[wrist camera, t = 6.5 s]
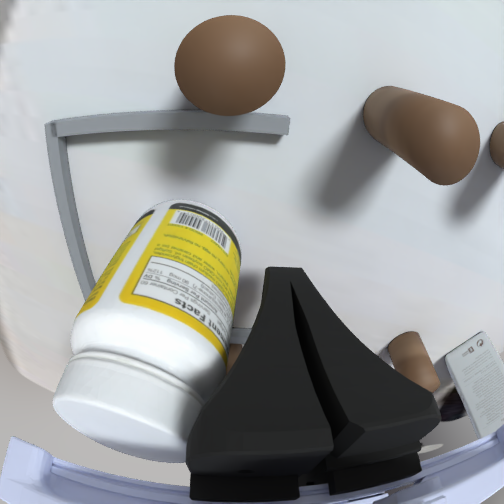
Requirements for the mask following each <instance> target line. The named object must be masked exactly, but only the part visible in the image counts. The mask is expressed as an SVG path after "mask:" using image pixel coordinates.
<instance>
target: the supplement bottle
mask: <svg viewBox="0 0 504 504" xmlns="http://www.w3.org/2000/svg"><path fill="white" fill-rule="evenodd" d="M240 266H241V246H240V242H239V238H238V236H237V234H236V232H235V230H234V229H233V227H232V226H231V224H230V223H229V222H228V221H227V220H226V218H224V217H223V216H222V215H221V214H220V213H219V212H217V211H216V210H214V209H212V208H211V207H209V206H207V205H204V204H202V203H199V202H195V201H190V200H170V201H166V202H162V203H160V204H157V205H155V206H153V207H152V208H150V209H148V210H147V211H146V212H145V213H144V214H143V215H142V216H141V217H140V218H139V220H138V221H137V222H136V223H135V225H134V226H133V228H132V229H131V231H130V232H129V234H128V235H127V237H126V238H125V240H124V241H123V243H122V244H121V246H120V247H119V249H118V250H117V252H116V253H115V255H114V256H113V258H112V259H111V261H110V263H109V264H108V266H107V267H106V269H105V271H104V272H103V274H102V275H101V277H100V279H99V280H98V282H97V283H96V285H95V287H94V288H93V290H92V291H91V293H90V295H89V296H88V298H87V300H86V302H85V303H84V305H83V307H82V308H81V310H80V311H79V313H78V315H77V316H76V318H75V320H74V323H73V327H72V330H71V338H70V339H71V348H72V352H73V354H74V356H73V357H72V358H71V359H70V361H69V363H68V365H67V366H66V368H65V370H64V373H63V375H62V378H61V380H60V382H59V384H58V387H57V389H56V392H55V394H54V397H53V407H54V409H55V411H56V412H57V413H58V415H59V416H60V417H61V418H62V419H63V420H64V421H65V422H67V423H68V424H69V425H70V426H72V427H73V428H74V429H76V430H77V431H79V432H80V433H82V434H84V435H85V436H87V437H89V438H90V439H92V440H94V441H96V442H98V443H100V444H102V445H104V446H106V447H109V448H111V449H114V450H116V451H119V452H122V453H125V454H128V455H131V456H135V457H139V458H143V459H147V460H152V461H158V462H168V463H184V462H186V445H187V441H188V437H189V434H190V432H191V430H192V427H193V425H194V423H195V421H196V419H197V417H198V415H199V413H200V410H201V408H202V407H203V406H204V405H205V403H206V402H207V401H208V400H209V398H210V397H211V396H212V395H213V393H214V392H215V391H216V390H217V388H218V387H219V385H220V384H221V383H222V381H223V380H224V378H225V377H226V371H227V364H228V356H229V348H230V340H231V333H232V326H233V318H234V311H235V303H236V295H237V288H238V281H239V273H240Z"/></svg>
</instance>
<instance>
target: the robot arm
mask: <svg viewBox="0 0 504 504" xmlns="http://www.w3.org/2000/svg"><path fill="white" fill-rule="evenodd" d="M440 420H441V414H440V411H439V409H438V406H437V403H436V400H435V398H434V396H433V394H432V392H430V391H428V390H427V389H425V388H423V387H422V386H420V385H418V384H416V383H415V382H413V381H411V380H410V379H408V378H406V377H405V376H404V375H402V374H401V373H399V372H398V371H396V370H395V369H393V368H392V367H391V366H389V365H388V364H387V363H385V362H384V361H383V360H382V359H380V358H379V357H378V356H377V355H376V354H374V353H373V352H372V351H371V350H370V349H369V348H367V347H366V346H365V345H364V344H363V343H362V342H361V341H360V340H359V339H358V338H357V337H356V336H355V335H354V334H353V333H352V332H351V331H350V330H349V329H348V328H347V327H346V326H345V325H344V323H343V322H342V321H341V320H340V319H339V318H338V316H337V315H336V314H335V313H334V312H333V310H332V309H331V308H330V307H329V305H328V304H327V303H326V301H325V300H324V299H323V297H322V296H321V295H320V293H319V292H318V291H317V289H316V288H315V286H314V285H313V283H312V282H311V281H310V279H309V278H308V276H307V275H306V273H305V272H304V270H303V269H302V268H292V267H268V268H266V269H265V276H264V284H263V292H262V300H261V306H260V309H259V312H258V314H257V317H256V320H255V322H254V325H253V327H252V330H251V332H250V334H249V336H248V338H247V340H246V343H245V345H244V346H243V348H242V350H241V352H240V354H239V356H238V357H237V359H236V361H235V363H234V364H233V366H232V368H231V369H230V371H229V372H228V374H227V375H226V377H225V378H224V380H223V381H222V383H221V384H220V385H219V387H218V388H217V390H216V391H215V392H214V393H213V395H212V396H211V397H210V398H209V400H208V401H207V402H206V403H205V405H204V406H203V407H202V408H201V410H200V413H199V415H198V417H197V419H196V421H195V423H194V425H193V427H192V430H191V432H190V434H189V437H188V441H187V445H186V465H187V467H188V468H189V471H190V472H191V478H190V487H187V486H177V485H169V484H162V483H155V482H149V481H143V480H138V479H132V478H127V477H123V476H118V475H114V474H109V473H105V472H101V471H98V470H94V469H90V468H87V467H83V466H80V465H77V464H73V463H70V462H67V461H64V460H61V459H58V458H55V457H53V456H52V455H51V454H50V453H49V452H47V451H45V450H44V449H42V448H40V447H38V446H35V445H34V444H31V443H29V442H26V441H24V440H21V439H19V438H17V437H14V436H12V437H11V439H10V442H9V446H8V449H7V453H6V457H5V460H4V464H3V468H2V473H1V477H0V499H2V500H3V501H5V502H7V503H8V504H479V503H481V502H483V501H484V500H486V499H487V498H488V497H490V496H491V495H493V494H494V493H495V492H497V491H498V490H499V489H501V488H502V487H503V486H504V424H503V425H502V426H501V427H499V428H498V429H497V430H496V431H495V432H493V433H491V434H489V435H487V436H485V437H483V438H481V439H478V440H476V441H475V442H472V443H469V444H467V445H465V446H462V447H460V448H458V449H455V450H453V451H450V452H447V453H445V454H442V455H440V456H437V457H434V458H431V459H428V460H425V461H422V462H420V460H419V456H418V453H417V452H419V451H420V450H421V445H420V442H419V440H420V439H422V438H423V437H424V436H426V435H427V434H428V433H429V432H431V431H432V430H433V429H434V428H435V427H436V426H437V425H438V424H439V422H440ZM414 482H415V483H414ZM411 483H414V485H413V486H411V487H408V488H405V489H402V490H400V491H397V492H395V493H394V494H392V495H389V496H388V493H387V494H385V493H384V491H388V490H391V489H395V488H398V487H401V486H405V485H408V484H411Z"/></svg>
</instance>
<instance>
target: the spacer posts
mask: <svg viewBox="0 0 504 504" xmlns="http://www.w3.org/2000/svg"><path fill="white" fill-rule="evenodd" d="M174 66H175V77H176V80H177V83H178V86H179V88H180V90H181V91H182V93H183V94H184V96H185V97H186V98H187V99H188V100H189V101H190V102H191V103H192V104H193V105H195V106H196V107H198V108H199V109H201V110H203V111H205V112H208V113H211V114H215V115H220V116H237V115H242V114H246V113H249V112H252V111H254V110H256V109H258V108H260V107H261V106H263V105H264V104H266V103H267V102H268V101H269V100H270V99H271V98H272V97H273V96H274V95H275V93H276V92H277V90H278V89H279V87H280V85H281V83H282V80H283V77H284V73H285V56H284V52H283V49H282V46H281V44H280V42H279V41H278V39H277V37H276V36H275V35H274V34H273V33H272V32H271V31H270V30H269V29H268V28H267V27H266V26H264V25H263V24H261V23H259V22H257V21H256V20H253V19H250V18H247V17H243V16H236V15H226V16H219V17H215V18H212V19H209V20H207V21H204V22H203V23H201V24H199V25H198V26H196V27H195V28H193V29H192V30H191V31H190V32H189V33H188V34H187V35H186V37H185V38H184V39H183V41H182V42H181V44H180V46H179V48H178V50H177V53H176V57H175V64H174ZM363 119H364V124H365V127H366V129H367V131H368V132H369V134H370V135H371V136H372V137H373V138H374V139H375V140H377V141H378V142H379V143H381V144H382V145H384V146H385V147H387V148H388V149H389V150H391V151H392V152H394V153H395V154H396V155H398V156H399V157H400V158H402V159H403V160H405V161H406V162H407V163H409V164H410V165H411V166H412V167H414V168H415V169H416V170H418V171H419V172H420V173H421V174H423V175H424V176H425V177H426V178H428V179H429V180H430V181H432V182H434V183H436V184H439V185H452V184H455V183H457V182H459V181H460V180H462V179H463V178H464V177H466V176H467V175H468V173H469V172H470V171H471V170H472V168H473V166H474V165H475V162H476V160H477V157H478V154H479V148H480V135H479V130H478V127H477V124H476V122H475V120H474V118H473V117H472V116H471V114H470V113H469V112H468V111H467V110H465V109H464V108H462V107H460V106H458V105H455V104H452V103H449V102H446V101H443V100H440V99H437V98H434V97H430V96H427V95H424V94H420V93H417V92H413V91H410V90H406V89H402V88H398V87H394V86H385V87H381V88H379V89H377V90H375V91H374V92H373V93H372V94H371V95H370V96H369V97H368V99H367V101H366V103H365V106H364V111H363ZM490 154H491V157H492V160H493V161H494V163H495V164H497V165H498V166H500V167H501V168H503V169H504V122H501V123H500V124H498V125H497V126H496V128H495V129H494V131H493V133H492V136H491V140H490ZM241 350H242V344H233V343H230V348H229V356H228V364H227V371H226V375H227V374H228V372H229V371H230V369H231V368H232V366H233V364H234V363H235V361H236V359H237V357H238V356H239V354H240V352H241ZM388 352H389V354H390V357H391V360H392V362H393V365H394V368H395V370H396V371H398V372H399V373H401V374H402V375H404V376H405V377H406V378H408V379H410V380H411V381H413V382H415V383H416V384H418V385H420V386H422V387H423V388H425V389H427V390H428V391H430V392H432V393H433V392H434V391H436V390H437V389H438V388H439V386H440V381H439V378H438V376H437V374H436V371H435V369H434V367H433V364H432V362H431V360H430V358H429V355H428V353H427V351H426V349H425V346H424V344H423V342H422V340H421V338H420V336H419V334H418V333H417V332H406V333H404V334H401V335H399V336H398V337H396V338H395V339H394V340H393V341H392V342H391V343H390V344H389V346H388Z"/></svg>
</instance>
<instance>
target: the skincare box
mask: <svg viewBox="0 0 504 504" xmlns="http://www.w3.org/2000/svg"><path fill="white" fill-rule="evenodd" d="M445 361H446V365H447V368H448V371H449V373H450V375H451V378H452V380H453V382H454V384H455V386H456V388H457V391H458V393H459V395H460V397H461V400H462V402H463V404H464V406H465V409H466V411H467V413H468V416H469V418H470V420H471V423H472V425H473V428H474V430H475V433H476V435H477V438H478V439H481V438H483V437H485V436H487V435H489V434H491V433H493V432H495V431H496V430H497V429H498V428H499V427H501V426H502V425H503V424H504V363H503V361H502V359H501V357H500V355H499V354H498V352H497V350H496V348H495V347H494V345H493V343H492V342H491V340H490V338H489V337H488V335H487V334H486V332H484V331H483V332H481V333H479V334H477V335H476V336H474V337H472V338H471V339H469V340H468V341H466V342H465V343H464V344H462V345H460V346H459V347H457V348H456V349H454V350H453V351H452V352H450V353H449V354H447V355H446V358H445Z"/></svg>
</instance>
